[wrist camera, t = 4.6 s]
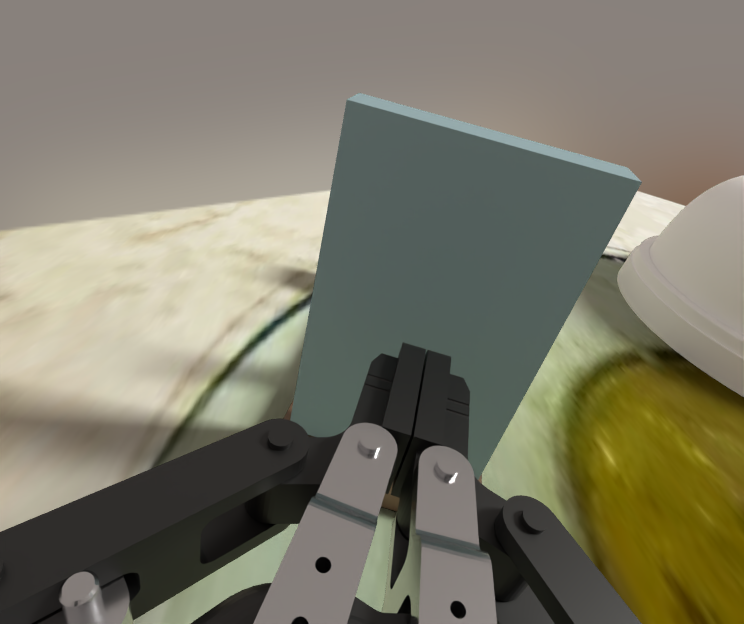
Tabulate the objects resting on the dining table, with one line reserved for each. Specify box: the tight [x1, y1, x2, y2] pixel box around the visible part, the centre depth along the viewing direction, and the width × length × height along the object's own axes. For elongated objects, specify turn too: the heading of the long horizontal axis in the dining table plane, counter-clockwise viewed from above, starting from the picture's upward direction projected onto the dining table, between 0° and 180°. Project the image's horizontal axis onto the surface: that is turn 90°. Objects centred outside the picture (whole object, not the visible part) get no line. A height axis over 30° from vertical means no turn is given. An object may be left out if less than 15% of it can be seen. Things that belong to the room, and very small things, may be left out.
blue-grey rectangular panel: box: [290, 93, 642, 480], centre depth 18 cm, size 4×8×13 cm, turn 78°
